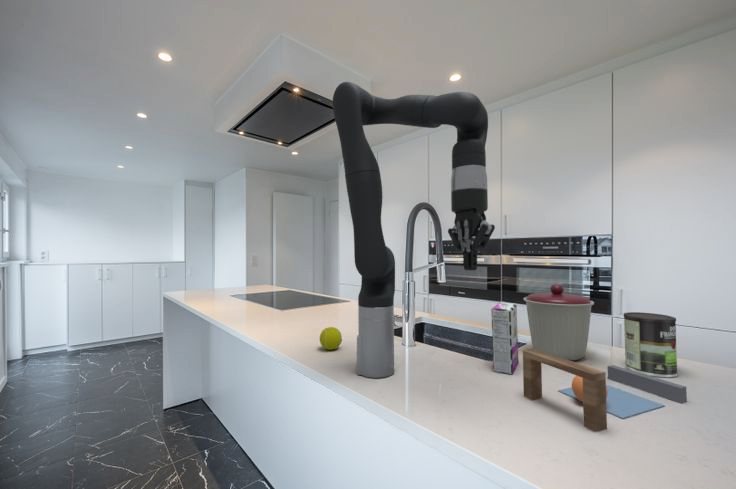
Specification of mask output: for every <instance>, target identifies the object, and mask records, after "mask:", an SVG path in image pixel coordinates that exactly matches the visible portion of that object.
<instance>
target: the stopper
mask: <svg viewBox="0 0 736 489" xmlns="http://www.w3.org/2000/svg"><path fill="white" fill-rule="evenodd" d="M607 379H608V380H611V381H613V382H617V383H620V384H623V385H626V386H629V387H630V388H631V387H632V388H635V389H637V390H641V391H644V392H645V393H646V392H647V393H650V394H652V395H656V396H658V397H662V398H664V399H667V400H670V401H674V402H676V403H678V404H683V403H687V402H688V401H687V400H688V398H687V397H688V396H687V394H688V393H687V386H685V385H682V384H679V383H675V382H672V381H668V380H665V379H663V378H662V379H661V378H660V377H655V376H649V375H645V374H642V373H638V372H635V371H632V370H629V369H628V368H626V367H625V368H624V367H622V366H617V365H616V364H615V365H614V364H611V365H607Z"/></svg>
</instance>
